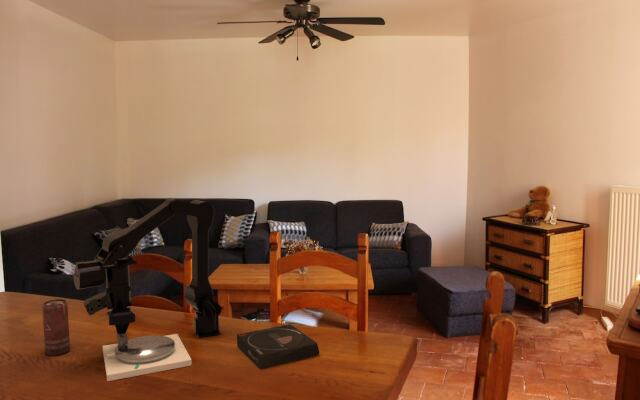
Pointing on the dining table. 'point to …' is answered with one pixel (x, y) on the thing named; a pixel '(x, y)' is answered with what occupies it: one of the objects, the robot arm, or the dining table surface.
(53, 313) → the can
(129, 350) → the dial
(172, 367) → the board
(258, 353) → the portable cd player
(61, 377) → the dining table surface
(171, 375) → the dining table surface
